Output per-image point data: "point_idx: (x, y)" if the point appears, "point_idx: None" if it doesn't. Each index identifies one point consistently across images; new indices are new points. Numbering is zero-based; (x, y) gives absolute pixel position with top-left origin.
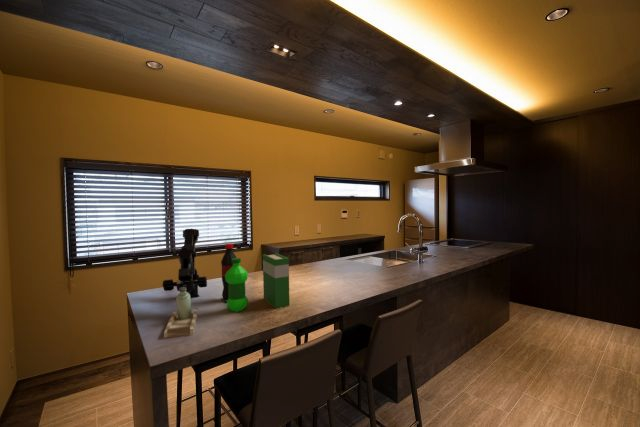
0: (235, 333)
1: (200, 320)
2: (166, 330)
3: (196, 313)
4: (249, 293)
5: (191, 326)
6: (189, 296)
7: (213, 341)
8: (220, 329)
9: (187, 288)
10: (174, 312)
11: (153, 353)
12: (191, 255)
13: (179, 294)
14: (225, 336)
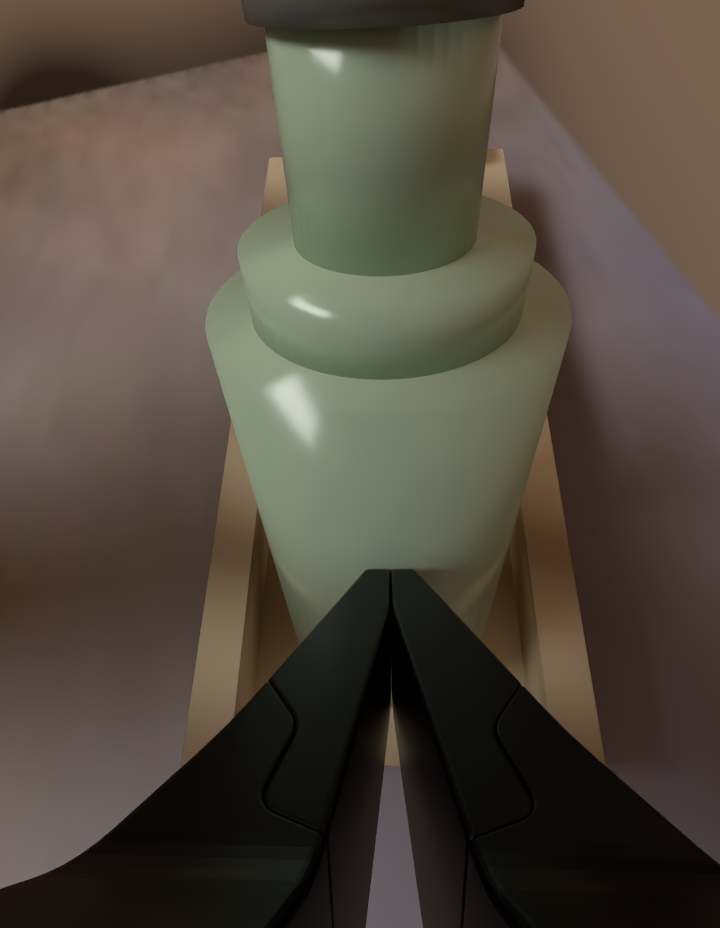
0: (2, 164)
1: (203, 473)
2: (493, 180)
3: (221, 507)
4: None
5: (284, 196)
6: (233, 291)
7: (161, 113)
8: (74, 237)
9: (244, 814)
10: (562, 681)
11: (502, 77)
12: None
13: (497, 243)
14: (76, 145)
